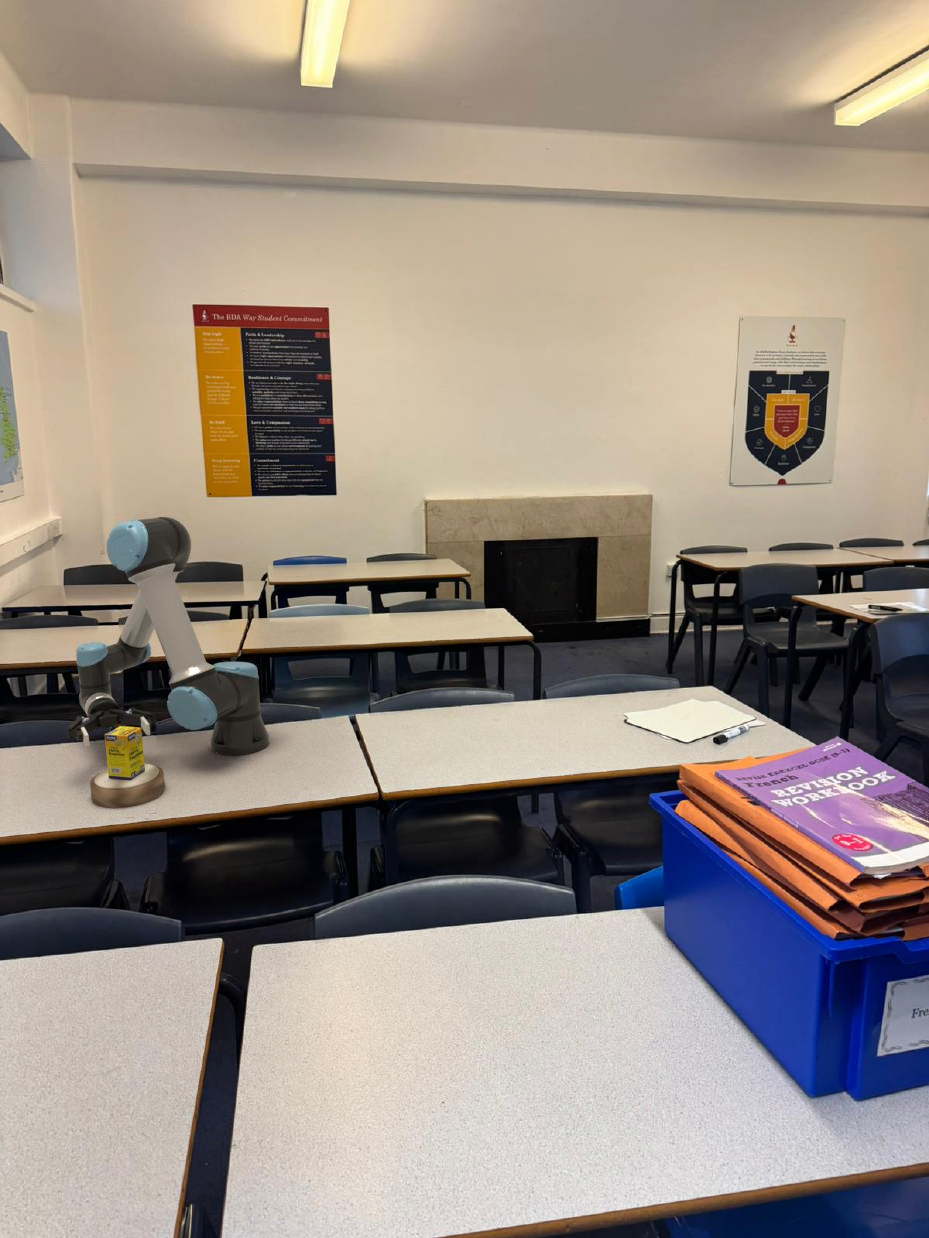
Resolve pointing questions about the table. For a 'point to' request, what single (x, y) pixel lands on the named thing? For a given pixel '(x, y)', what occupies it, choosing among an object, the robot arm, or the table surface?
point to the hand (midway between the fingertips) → (118, 735)
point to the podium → (127, 788)
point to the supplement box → (124, 753)
